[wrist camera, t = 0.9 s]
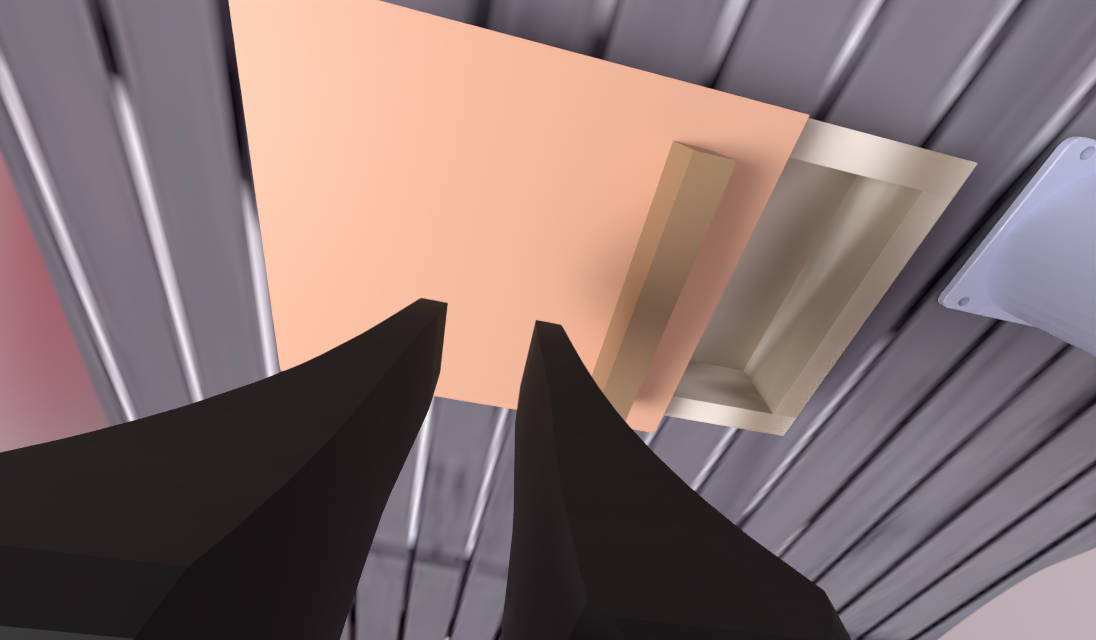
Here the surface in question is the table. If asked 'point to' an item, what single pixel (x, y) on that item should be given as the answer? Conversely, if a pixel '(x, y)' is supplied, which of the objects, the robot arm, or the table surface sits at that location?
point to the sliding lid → (495, 194)
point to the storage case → (813, 273)
